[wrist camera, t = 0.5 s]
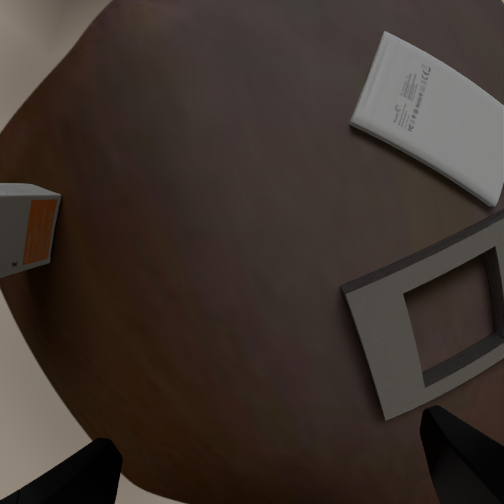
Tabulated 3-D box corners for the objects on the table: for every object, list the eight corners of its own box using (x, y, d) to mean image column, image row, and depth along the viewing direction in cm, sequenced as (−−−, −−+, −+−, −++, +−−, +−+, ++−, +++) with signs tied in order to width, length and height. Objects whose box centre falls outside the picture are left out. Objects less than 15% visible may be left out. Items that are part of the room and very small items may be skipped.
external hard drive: (485, 206, 19) (346, 126, 19) (507, 119, 18) (380, 38, 18) (496, 207, 17) (351, 120, 18) (518, 115, 16) (385, 28, 16)
